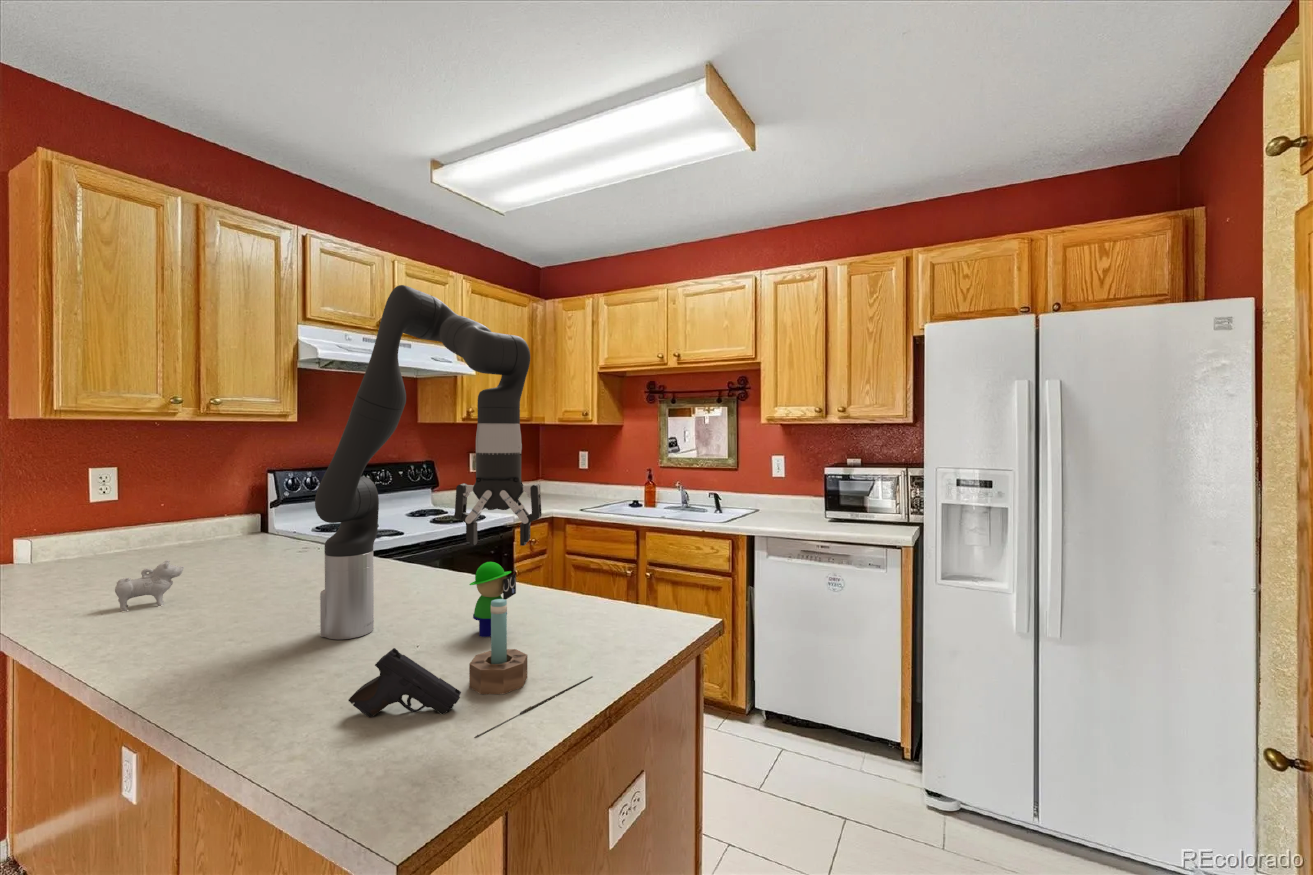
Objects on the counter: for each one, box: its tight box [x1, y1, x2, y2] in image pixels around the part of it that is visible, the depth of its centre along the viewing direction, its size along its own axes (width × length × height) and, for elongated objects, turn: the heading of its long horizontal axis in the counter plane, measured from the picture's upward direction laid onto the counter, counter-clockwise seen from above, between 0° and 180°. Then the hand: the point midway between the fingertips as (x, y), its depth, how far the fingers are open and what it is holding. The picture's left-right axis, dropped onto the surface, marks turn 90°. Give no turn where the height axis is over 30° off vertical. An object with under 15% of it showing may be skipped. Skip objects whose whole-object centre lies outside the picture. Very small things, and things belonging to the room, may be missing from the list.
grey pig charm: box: [114, 559, 184, 613], centre depth 142 cm, size 5×13×11 cm, turn 131°
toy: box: [469, 561, 517, 638], centre depth 124 cm, size 9×9×15 cm
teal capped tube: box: [490, 599, 508, 664], centre depth 99 cm, size 3×3×14 cm
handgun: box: [347, 647, 462, 718], centre depth 89 cm, size 3×14×10 cm
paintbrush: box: [473, 675, 594, 738], centre depth 91 cm, size 1×25×1 cm, turn 145°
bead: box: [468, 648, 528, 695], centre depth 99 cm, size 9×9×4 cm
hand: (498, 544), depth 99 cm, fingers open, 8 cm apart
